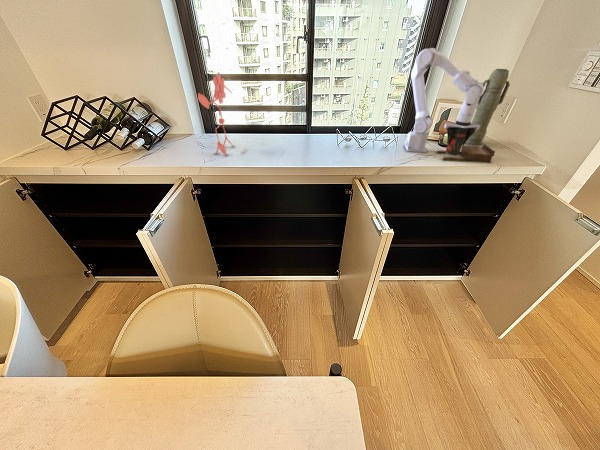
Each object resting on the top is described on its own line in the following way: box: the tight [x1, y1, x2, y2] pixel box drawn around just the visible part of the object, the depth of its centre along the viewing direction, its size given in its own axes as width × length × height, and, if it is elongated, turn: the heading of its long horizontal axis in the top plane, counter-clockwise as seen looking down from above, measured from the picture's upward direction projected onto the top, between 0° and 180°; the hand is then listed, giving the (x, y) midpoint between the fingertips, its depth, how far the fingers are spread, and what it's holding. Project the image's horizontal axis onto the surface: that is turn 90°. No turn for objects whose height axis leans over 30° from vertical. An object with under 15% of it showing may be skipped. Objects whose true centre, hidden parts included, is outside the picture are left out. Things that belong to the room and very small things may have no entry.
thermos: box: [465, 68, 511, 146], centre depth 132 cm, size 9×12×35 cm
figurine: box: [197, 72, 244, 159], centre depth 122 cm, size 15×26×35 cm, turn 172°
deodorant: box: [444, 119, 472, 156], centre depth 121 cm, size 6×6×15 cm
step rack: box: [436, 143, 496, 163], centre depth 124 cm, size 21×10×5 cm, turn 82°
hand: (455, 143), depth 123 cm, fingers closed on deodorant, 6 cm apart
